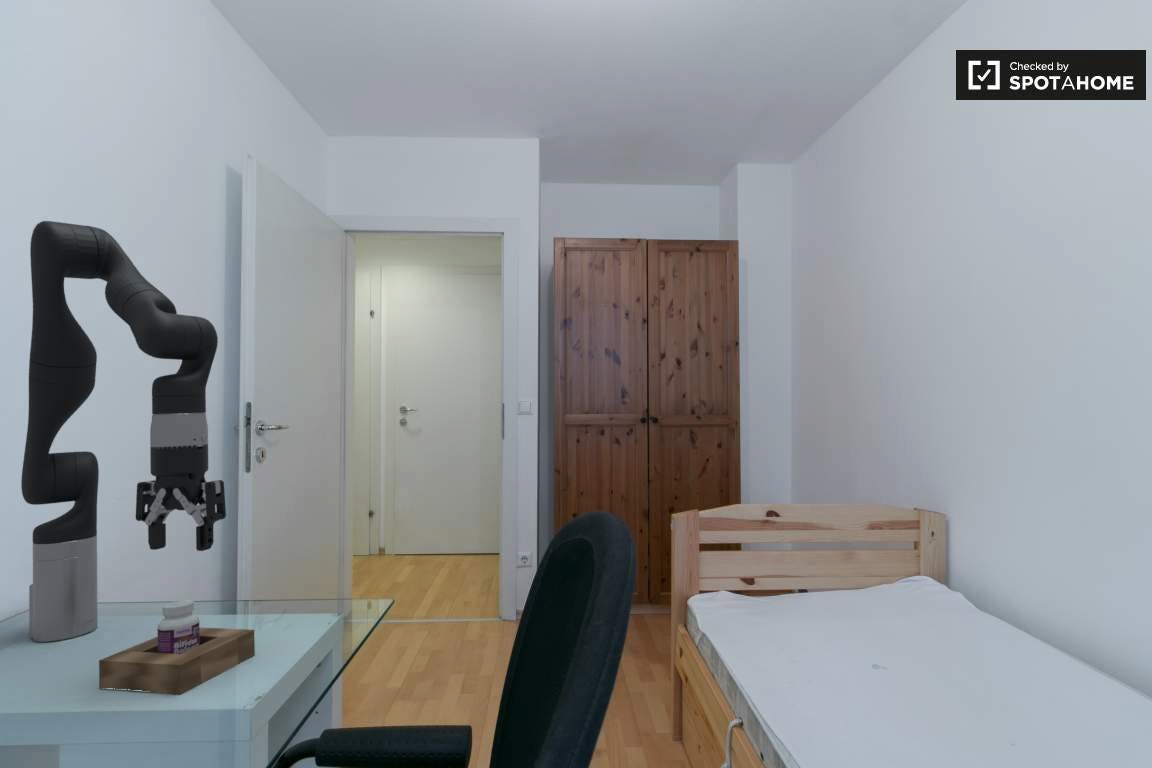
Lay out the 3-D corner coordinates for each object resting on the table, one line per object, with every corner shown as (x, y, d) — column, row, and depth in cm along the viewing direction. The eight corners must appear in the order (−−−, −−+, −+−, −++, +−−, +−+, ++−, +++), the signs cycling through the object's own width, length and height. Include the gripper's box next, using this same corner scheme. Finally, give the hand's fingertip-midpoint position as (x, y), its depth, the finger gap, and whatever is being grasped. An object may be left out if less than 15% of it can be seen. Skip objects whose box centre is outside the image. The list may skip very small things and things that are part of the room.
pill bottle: (178, 676, 91) (177, 609, 91) (149, 675, 92) (148, 608, 92) (208, 661, 96) (207, 598, 96) (180, 660, 97) (179, 598, 98)
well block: (99, 688, 89) (99, 660, 89) (182, 651, 102) (181, 626, 102) (180, 694, 85) (179, 665, 86) (254, 655, 99) (254, 629, 99)
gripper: (119, 445, 93) (120, 554, 93) (198, 443, 90) (199, 556, 90) (163, 442, 101) (163, 543, 100) (237, 440, 98) (239, 544, 97)
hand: (180, 549), depth 95 cm, fingers open, 8 cm apart
